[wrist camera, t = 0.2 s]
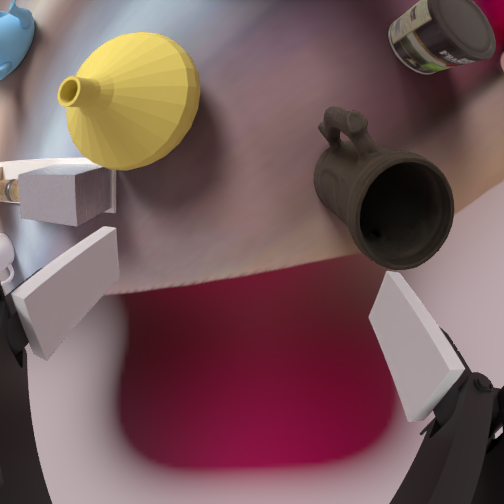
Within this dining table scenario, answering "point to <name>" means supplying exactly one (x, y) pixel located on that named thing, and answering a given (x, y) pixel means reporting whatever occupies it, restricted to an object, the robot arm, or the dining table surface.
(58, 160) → the base rail
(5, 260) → the cup
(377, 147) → the beer stein
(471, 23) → the coffee can
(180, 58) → the vase
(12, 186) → the slip tube
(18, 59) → the teapot
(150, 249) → the dining table surface
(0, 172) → the socket block
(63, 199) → the sleeve
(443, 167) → the dining table surface
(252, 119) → the dining table surface
